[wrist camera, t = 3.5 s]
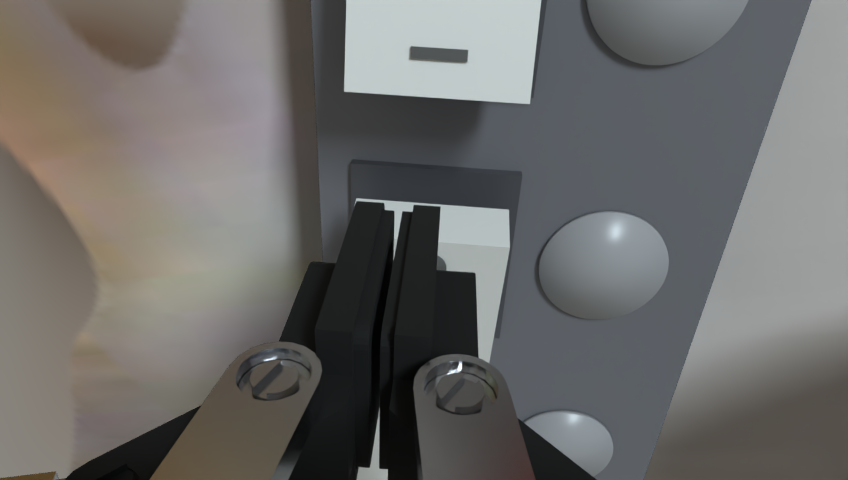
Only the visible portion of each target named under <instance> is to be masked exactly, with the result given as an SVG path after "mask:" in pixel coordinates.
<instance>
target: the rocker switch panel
mask: <svg viewBox="0 0 848 480" xmlns="http://www.w3.org/2000/svg"><path fill="white" fill-rule="evenodd" d="M810 3H811V0H541V8H540V17H539V26H538V35H537V44H536V53H535V62H534V71H533V80H532V89H531V98H530V104H520V103H505V102H490V101H475V100H460V99H446V98H431V97H416V96H401V95H387V94H372V93H357V92H344V76H345V35H346V0H311V20H312V42H313V63H314V85H315V107H316V128H317V150H318V171H319V193H320V215H321V236H322V258H323V262H326V263H336V262H337V259H338V256H339V253H340V250H341V246H342V243H343V240H344V237H345V234H346V231H347V228H348V225H349V222H350V219H351V216H352V213H353V210H354V206H355V202H356V198H360V199H373V200H387V201H400V202H413V203H427V204H440V205H453V206H467V207H480V208H494V209H507V210H509V231H510V250H509V256H508V261H507V267H506V272H505V278H504V283H503V289H502V295H501V300H500V306H499V311H498V317H497V322H496V328H495V333H494V339H493V345H492V350H491V356H490V361H489V363H490V364H491V365H493V366H494V367H495V368H496V369H497V370H498V371H499V372H500V373H501V374H502V375H503V377H504V379H505V380H506V382H507V384H508V388H509V391H510V394H511V398H512V401H513V405H514V408H515V411H516V415H517V418H518V419H520V420H521V421H522V422H523V423H525V424H526V425H527V426H529V427H530V428H531V429H532V430H534V431H535V432H536V433H538V434H539V435H540V436H541V437H543V438H544V439H545V440H547V441H548V442H549V443H550V444H552V445H553V446H554V447H556V448H557V449H558V450H559V451H561V452H562V453H563V454H564V455H566V456H567V457H568V458H570V459H571V460H572V461H573V462H575V463H576V464H577V465H579V466H580V467H581V468H582V469H584V470H585V471H586V472H588V473H589V474H590V475H591V476H593V477H594V478H595V479H597V480H644V477H645V474H646V471H647V468H648V466H649V463H650V460H651V457H652V454H653V451H654V449H655V446H656V443H657V440H658V437H659V434H660V431H661V429H662V426H663V423H664V420H665V417H666V414H667V411H668V409H669V406H670V403H671V400H672V397H673V394H674V391H675V389H676V386H677V383H678V380H679V377H680V374H681V371H682V369H683V366H684V363H685V360H686V357H687V354H688V351H689V349H690V346H691V343H692V340H693V337H694V334H695V331H696V329H697V326H698V323H699V320H700V317H701V314H702V311H703V309H704V306H705V303H706V300H707V297H708V294H709V292H710V289H711V286H712V283H713V280H714V277H715V274H716V272H717V269H718V266H719V263H720V260H721V257H722V254H723V252H724V249H725V246H726V243H727V240H728V237H729V234H730V232H731V229H732V226H733V223H734V220H735V217H736V214H737V212H738V209H739V206H740V203H741V200H742V197H743V194H744V192H745V189H746V186H747V183H748V180H749V177H750V174H751V172H752V169H753V166H754V163H755V160H756V157H757V155H758V152H759V149H760V146H761V143H762V140H763V137H764V135H765V132H766V129H767V126H768V123H769V120H770V117H771V115H772V112H773V109H774V106H775V103H776V100H777V97H778V95H779V92H780V89H781V86H782V83H783V80H784V77H785V75H786V72H787V69H788V66H789V63H790V60H791V57H792V55H793V52H794V49H795V46H796V43H797V40H798V37H799V35H800V32H801V29H802V26H803V23H804V20H805V17H806V15H807V12H808V9H809V6H810Z"/></svg>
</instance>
